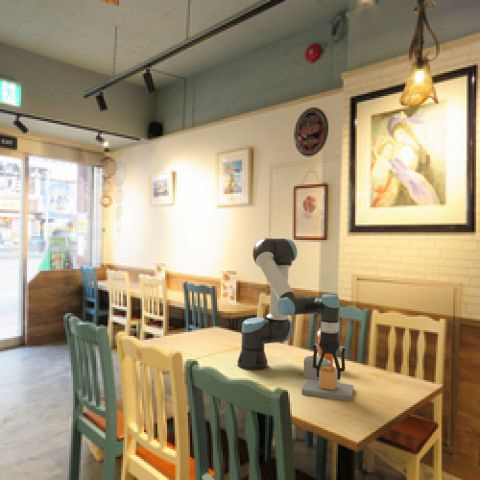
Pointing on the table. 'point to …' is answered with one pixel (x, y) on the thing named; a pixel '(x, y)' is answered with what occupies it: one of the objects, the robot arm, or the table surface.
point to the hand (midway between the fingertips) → (328, 385)
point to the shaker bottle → (327, 356)
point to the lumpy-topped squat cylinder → (308, 366)
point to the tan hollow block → (327, 378)
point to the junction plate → (328, 390)
